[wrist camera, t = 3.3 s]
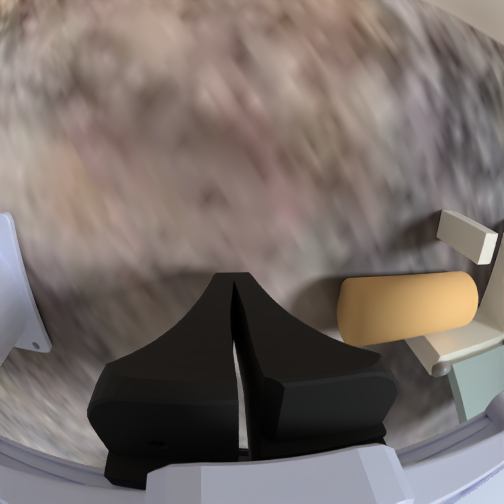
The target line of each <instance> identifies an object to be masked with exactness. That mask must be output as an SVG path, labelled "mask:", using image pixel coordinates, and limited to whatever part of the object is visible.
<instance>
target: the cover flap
mask: <svg viewBox="0 0 504 504" xmlns="http://www.w3.org/2000/svg"><path fill="white" fill-rule="evenodd" d="M447 375H448V379H449V382H450V386H451V389H452V393H453V397H454V401H455V405H456V409H457V413H458V418H459V422H460V424H461V423H463V422H465V421H467V420H469V419H471V418H473V417H475V416H476V415H478V414H480V413H482V412H484V411H485V409H486V407H487V406H488V405H489V403H490V402H491V401H492V400H493V398H494V397H495V396H497V395H498V394H499V393H500V392H502V391H504V345H502V346H500V347H498V348H495V349H493V350H490V351H488V352H485V353H483V354H480V355H478V356H475V357H472V358H470V359H467V360H464V361H461V362H458V363H456V364H453V365H451V370H450V372H449V374H447Z"/></svg>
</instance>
